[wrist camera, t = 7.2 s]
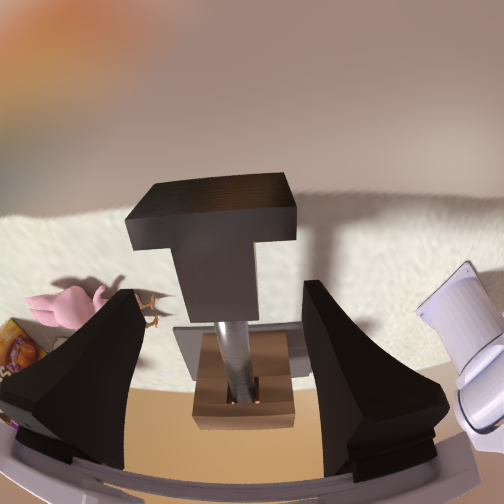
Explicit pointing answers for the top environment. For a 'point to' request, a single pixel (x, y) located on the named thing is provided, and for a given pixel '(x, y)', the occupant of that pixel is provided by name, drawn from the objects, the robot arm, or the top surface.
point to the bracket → (266, 385)
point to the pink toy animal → (73, 307)
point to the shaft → (218, 252)
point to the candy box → (16, 355)
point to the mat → (297, 349)
